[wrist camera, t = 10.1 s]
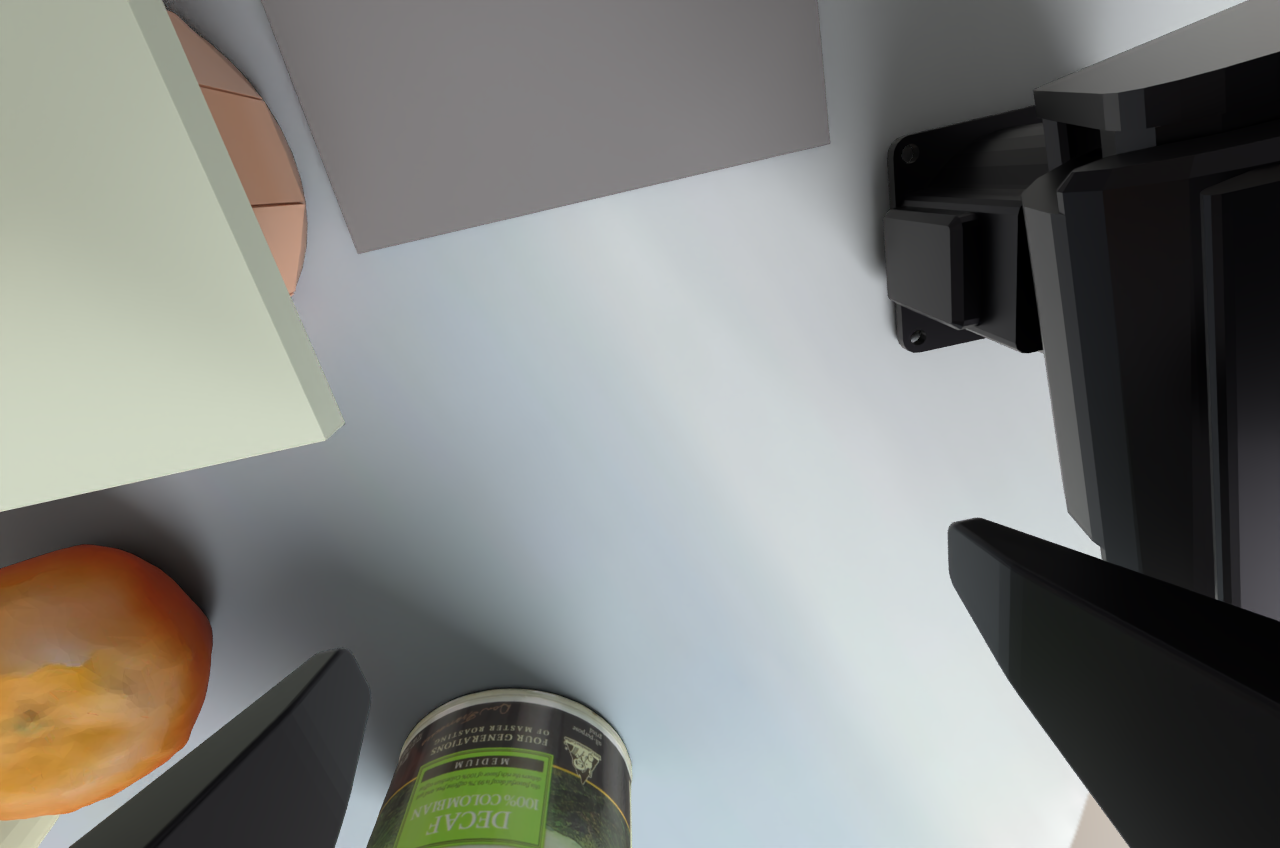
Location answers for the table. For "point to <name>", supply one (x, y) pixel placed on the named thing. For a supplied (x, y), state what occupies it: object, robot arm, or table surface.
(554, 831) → the coffee can
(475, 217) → the mat
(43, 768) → the fruit
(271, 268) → the lid
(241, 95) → the pot
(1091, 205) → the robot arm
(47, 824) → the reusable coffee cup
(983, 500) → the table surface
